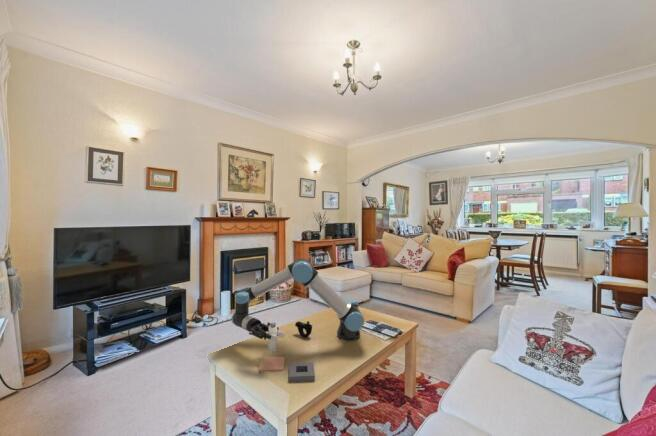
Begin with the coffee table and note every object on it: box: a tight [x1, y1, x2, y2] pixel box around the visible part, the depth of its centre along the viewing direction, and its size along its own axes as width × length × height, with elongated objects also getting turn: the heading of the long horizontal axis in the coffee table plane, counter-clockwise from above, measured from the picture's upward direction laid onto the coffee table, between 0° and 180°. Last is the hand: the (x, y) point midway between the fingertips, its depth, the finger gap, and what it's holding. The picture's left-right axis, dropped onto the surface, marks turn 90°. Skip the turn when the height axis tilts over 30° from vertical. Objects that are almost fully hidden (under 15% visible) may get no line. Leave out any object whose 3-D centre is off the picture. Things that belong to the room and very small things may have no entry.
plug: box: [267, 322, 278, 353], centre depth 143 cm, size 4×4×14 cm
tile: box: [258, 356, 286, 373], centre depth 143 cm, size 12×12×1 cm
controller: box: [294, 320, 313, 338], centre depth 178 cm, size 4×12×10 cm, turn 58°
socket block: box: [288, 361, 316, 383], centre depth 135 cm, size 12×12×3 cm
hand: (279, 337), depth 139 cm, fingers closed on plug, 4 cm apart
